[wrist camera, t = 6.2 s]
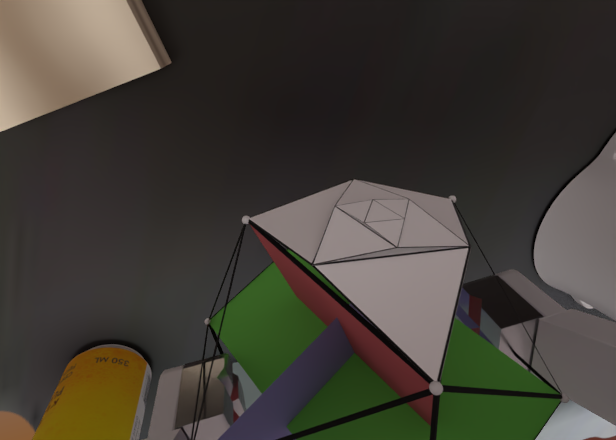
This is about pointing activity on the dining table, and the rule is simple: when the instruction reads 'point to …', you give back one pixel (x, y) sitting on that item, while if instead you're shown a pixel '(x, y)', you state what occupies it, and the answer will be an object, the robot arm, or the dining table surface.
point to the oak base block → (70, 52)
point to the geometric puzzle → (370, 328)
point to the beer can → (99, 397)
